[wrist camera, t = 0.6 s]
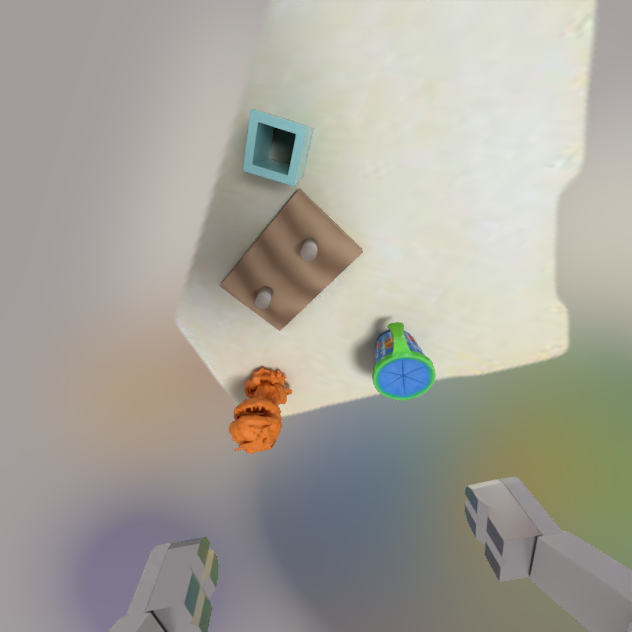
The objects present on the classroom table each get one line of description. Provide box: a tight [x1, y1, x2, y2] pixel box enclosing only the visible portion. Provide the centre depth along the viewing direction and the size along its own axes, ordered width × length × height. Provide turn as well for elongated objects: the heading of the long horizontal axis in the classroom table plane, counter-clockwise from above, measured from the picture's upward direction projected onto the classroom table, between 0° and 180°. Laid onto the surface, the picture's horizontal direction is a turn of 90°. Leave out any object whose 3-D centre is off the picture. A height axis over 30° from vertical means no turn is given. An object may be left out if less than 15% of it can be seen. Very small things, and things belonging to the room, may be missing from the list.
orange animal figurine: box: [229, 367, 292, 454], centre depth 59 cm, size 11×11×18 cm
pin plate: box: [220, 189, 363, 331], centre depth 50 cm, size 22×14×6 cm, turn 138°
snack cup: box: [372, 323, 435, 400], centre depth 55 cm, size 16×11×10 cm
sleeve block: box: [243, 109, 314, 186], centre depth 39 cm, size 6×6×10 cm
